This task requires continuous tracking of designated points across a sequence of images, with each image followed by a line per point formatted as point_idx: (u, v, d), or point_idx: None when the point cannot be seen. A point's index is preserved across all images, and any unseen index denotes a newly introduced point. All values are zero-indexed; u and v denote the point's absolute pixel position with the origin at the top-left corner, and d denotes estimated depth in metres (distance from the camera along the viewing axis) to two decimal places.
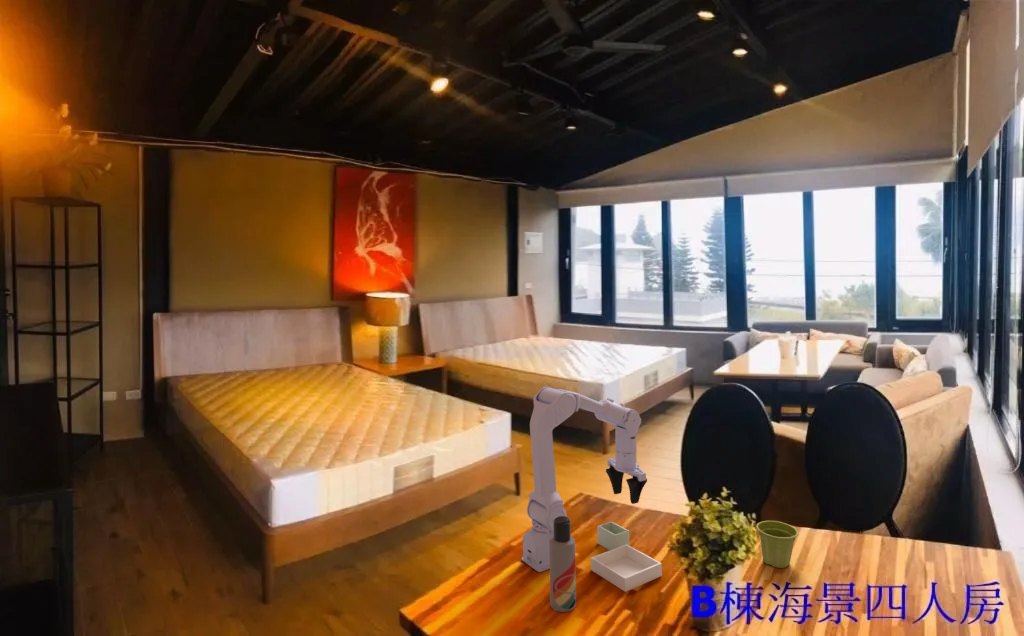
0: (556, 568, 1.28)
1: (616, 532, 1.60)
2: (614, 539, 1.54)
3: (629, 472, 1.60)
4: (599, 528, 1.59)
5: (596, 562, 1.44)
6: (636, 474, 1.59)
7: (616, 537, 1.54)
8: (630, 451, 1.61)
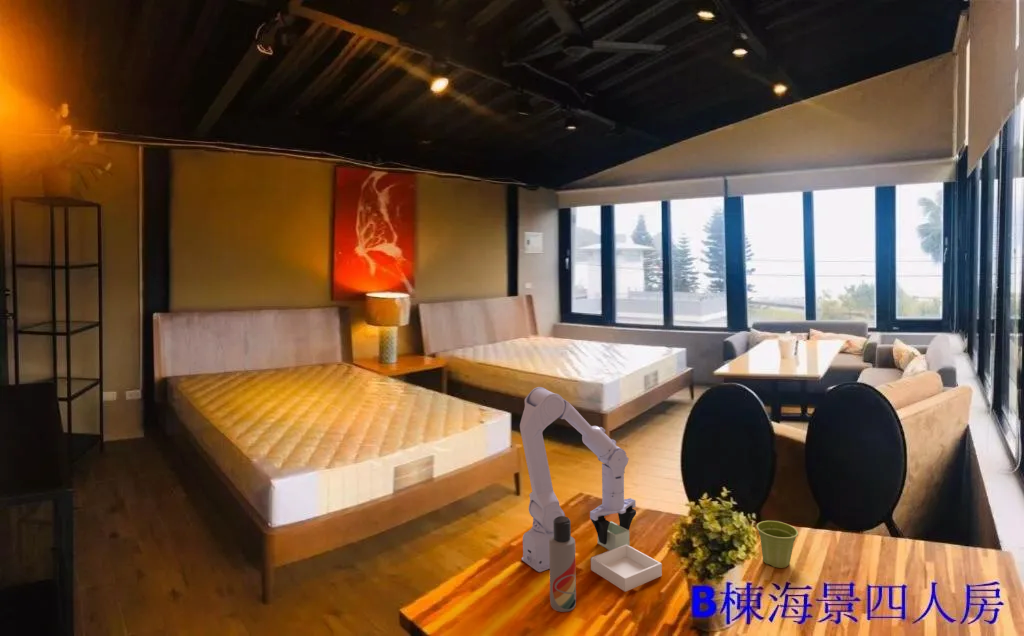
0: (556, 568, 1.28)
1: (616, 532, 1.60)
2: (614, 539, 1.54)
3: None
4: None
5: (596, 562, 1.44)
6: None
7: (616, 537, 1.54)
8: (615, 491, 1.54)
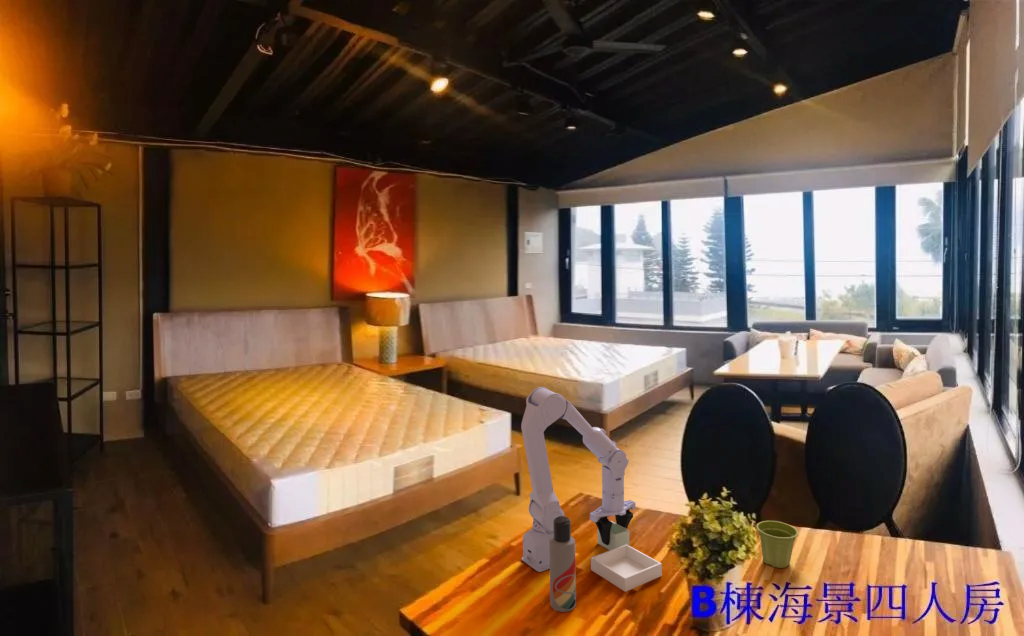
0: (556, 568, 1.28)
1: (616, 531, 1.60)
2: (614, 538, 1.54)
3: None
4: None
5: (596, 562, 1.44)
6: None
7: (616, 537, 1.54)
8: (615, 493, 1.54)
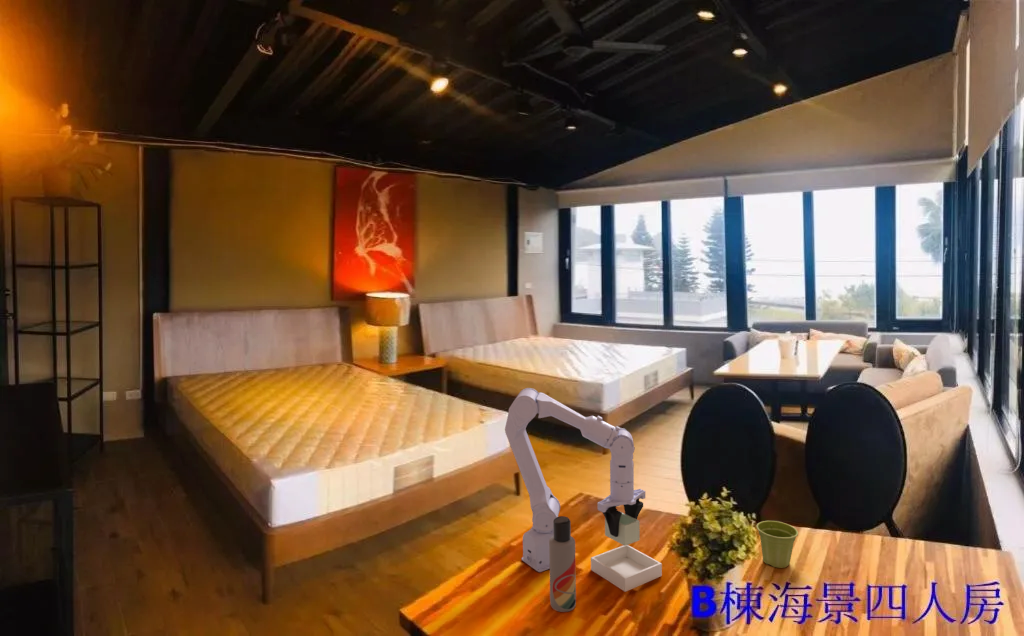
0: (556, 568, 1.28)
1: (625, 523, 1.50)
2: (623, 530, 1.44)
3: None
4: None
5: (596, 562, 1.44)
6: None
7: (625, 528, 1.43)
8: (618, 480, 1.44)
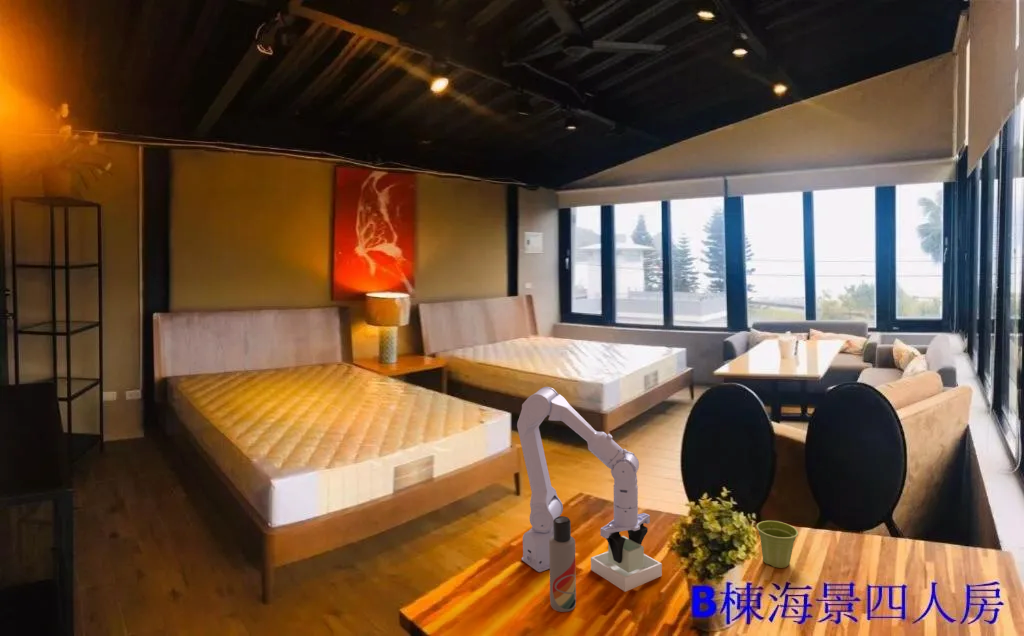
0: (556, 568, 1.28)
1: (629, 548, 1.46)
2: (627, 556, 1.40)
3: None
4: None
5: (596, 562, 1.44)
6: None
7: (629, 554, 1.40)
8: (620, 505, 1.41)
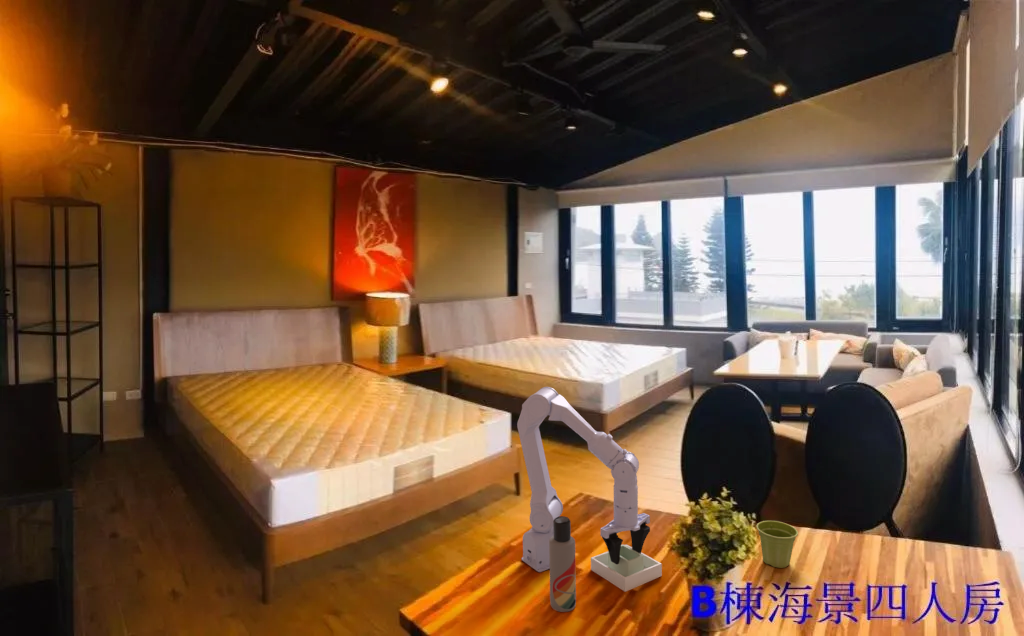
0: (556, 568, 1.28)
1: (629, 557, 1.46)
2: (627, 565, 1.40)
3: None
4: None
5: (596, 562, 1.44)
6: None
7: (629, 563, 1.40)
8: (620, 505, 1.41)
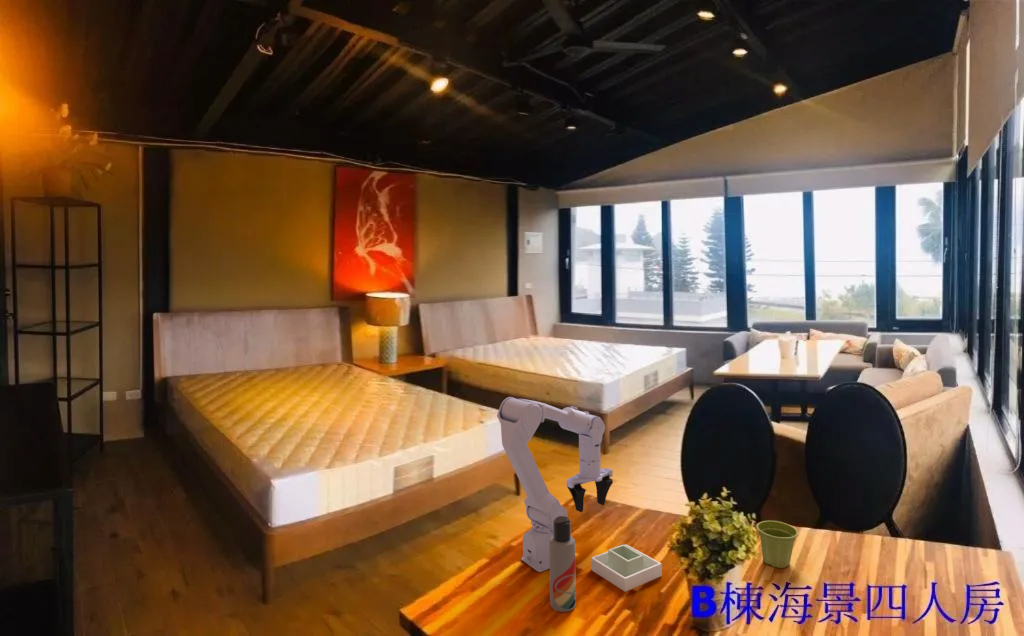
0: (556, 568, 1.28)
1: (629, 557, 1.46)
2: (627, 565, 1.40)
3: None
4: (610, 552, 1.45)
5: (596, 562, 1.44)
6: None
7: (629, 563, 1.40)
8: (595, 459, 1.57)
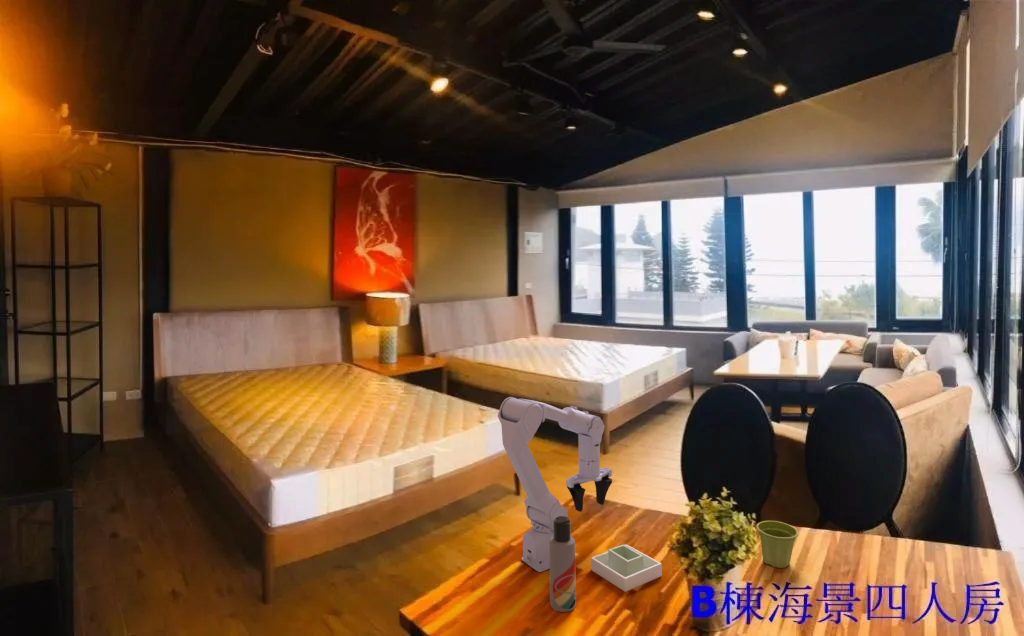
0: (556, 568, 1.28)
1: (629, 557, 1.46)
2: (626, 565, 1.40)
3: None
4: (610, 552, 1.45)
5: (596, 562, 1.44)
6: None
7: (628, 563, 1.40)
8: (594, 459, 1.57)
